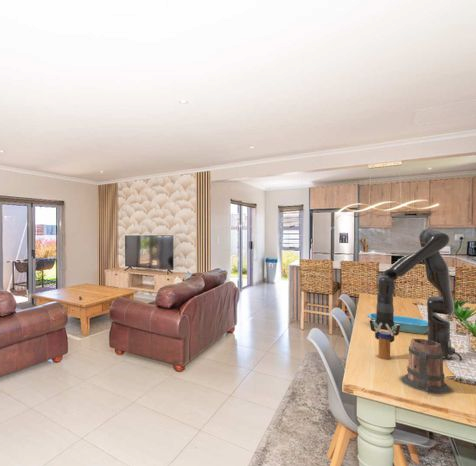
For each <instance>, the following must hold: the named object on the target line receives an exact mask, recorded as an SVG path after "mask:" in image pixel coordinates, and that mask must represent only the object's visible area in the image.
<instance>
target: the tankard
mask: <svg viewBox="0 0 476 466" xmlns="http://www.w3.org/2000/svg"><path fill="white" fill-rule="evenodd" d="M407 363H408V364H407V367H406V368H407V369H406V371H407V373H406V374H405V375H404V376H402V377H401V381H402V382H403V383H404V384H406V385H407V386H410V387H411V388H413V389H417V390H418V391H419V390H420V391H423V392H427V393H433V394H449V393H451V392H452V391H451V390H452V389H451V388H450V387H449V386H448V384H447V383H446V382H445V372H444V358H443V352H442V349H441V344H440V343H437V342H434V341H431V340H428V339H425V338H411V340H410V343H409V346H408V362H407Z"/></svg>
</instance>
